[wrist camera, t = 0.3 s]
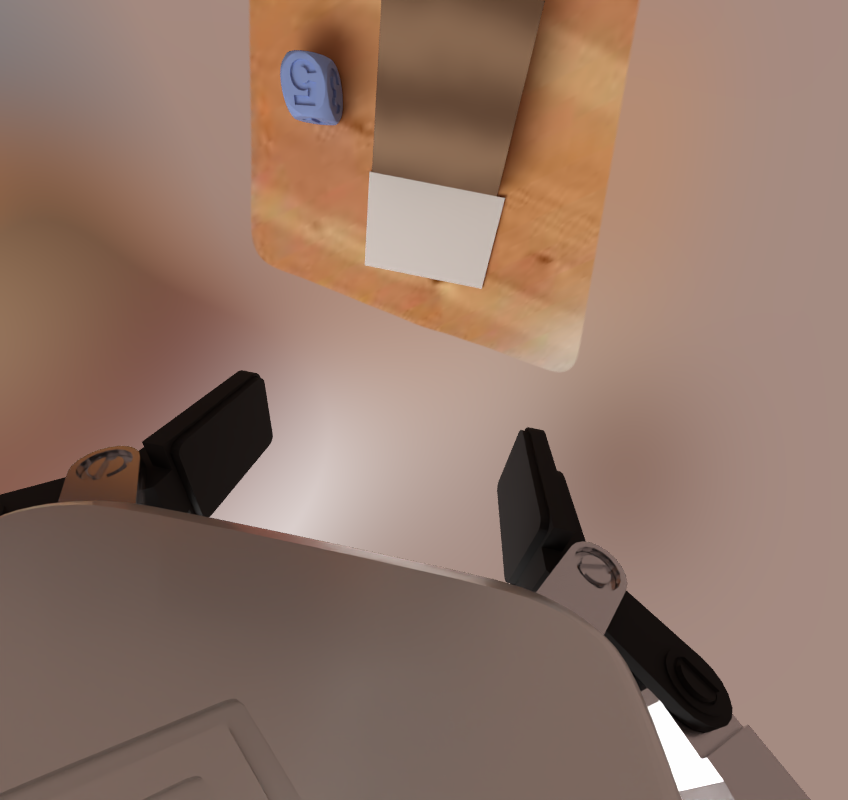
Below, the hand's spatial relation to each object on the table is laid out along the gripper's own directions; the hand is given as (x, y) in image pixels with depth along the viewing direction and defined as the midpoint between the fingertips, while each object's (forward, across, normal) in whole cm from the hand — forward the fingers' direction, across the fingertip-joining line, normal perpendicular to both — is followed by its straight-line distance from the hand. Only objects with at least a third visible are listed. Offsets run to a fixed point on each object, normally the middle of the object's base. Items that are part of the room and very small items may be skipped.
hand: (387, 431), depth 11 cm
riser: (+30, +2, -14) cm, 33 cm away
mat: (+30, +2, -4) cm, 30 cm away
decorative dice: (+30, +14, -13) cm, 36 cm away
